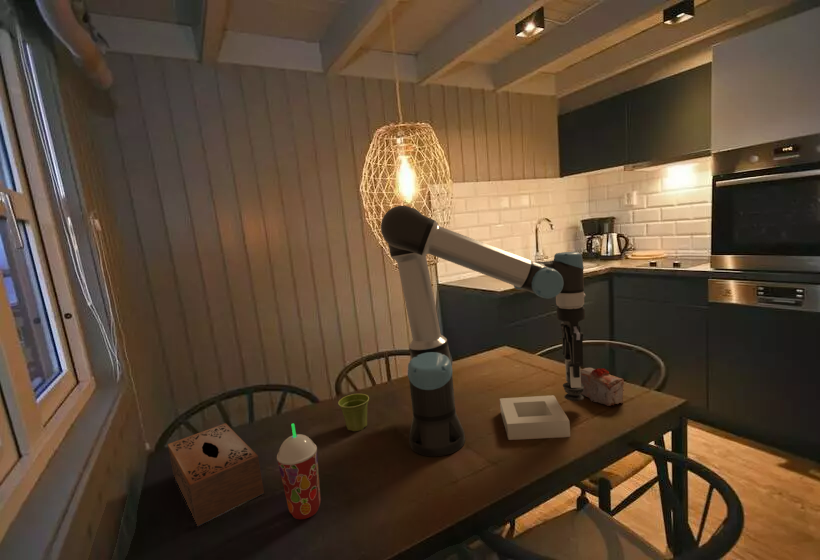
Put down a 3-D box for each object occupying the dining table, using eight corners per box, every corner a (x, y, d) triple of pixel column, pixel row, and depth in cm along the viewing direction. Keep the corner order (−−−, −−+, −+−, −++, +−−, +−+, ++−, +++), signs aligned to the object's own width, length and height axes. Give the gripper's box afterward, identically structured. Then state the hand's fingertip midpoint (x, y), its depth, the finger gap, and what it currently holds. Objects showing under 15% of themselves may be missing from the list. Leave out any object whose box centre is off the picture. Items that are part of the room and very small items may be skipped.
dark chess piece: (581, 392, 123) (579, 354, 121) (587, 401, 117) (586, 360, 115) (561, 393, 123) (559, 355, 122) (566, 402, 118) (564, 362, 116)
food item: (629, 403, 121) (628, 372, 120) (609, 411, 118) (608, 378, 117) (592, 389, 133) (590, 360, 132) (573, 395, 130) (572, 366, 129)
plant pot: (375, 430, 121) (371, 402, 120) (343, 437, 119) (339, 409, 118) (369, 417, 130) (366, 391, 129) (340, 423, 128) (336, 397, 127)
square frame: (508, 439, 108) (507, 424, 108) (500, 412, 124) (499, 398, 123) (570, 436, 106) (569, 420, 106) (554, 409, 122) (553, 395, 122)
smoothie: (328, 496, 93) (316, 413, 90) (321, 522, 84) (308, 431, 82) (291, 500, 93) (278, 417, 90) (281, 526, 84) (266, 436, 82)
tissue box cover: (264, 495, 96) (257, 455, 95) (197, 528, 87) (189, 485, 86) (231, 456, 116) (225, 423, 115) (174, 479, 107) (167, 444, 105)
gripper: (594, 311, 108) (597, 395, 111) (574, 299, 125) (577, 372, 128) (565, 313, 109) (568, 396, 111) (549, 301, 126) (552, 373, 128)
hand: (573, 383), depth 120 cm, fingers closed on dark chess piece, 4 cm apart
